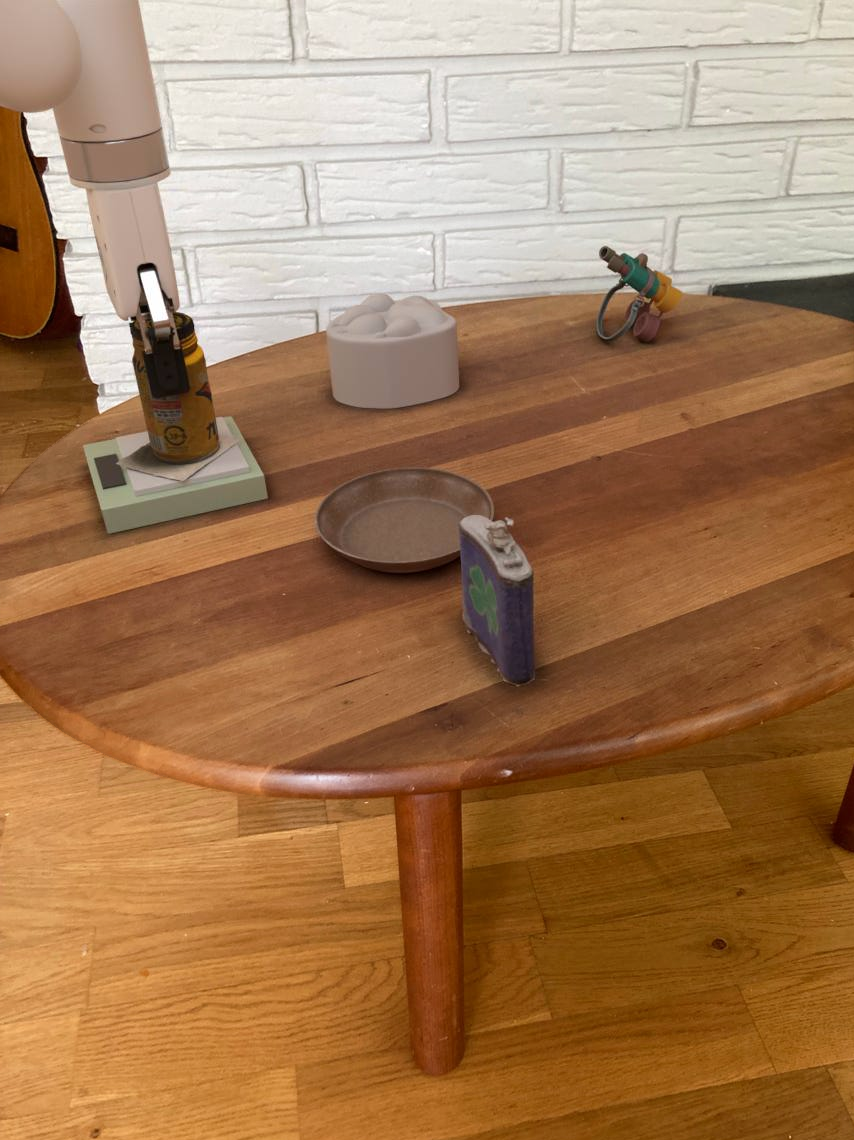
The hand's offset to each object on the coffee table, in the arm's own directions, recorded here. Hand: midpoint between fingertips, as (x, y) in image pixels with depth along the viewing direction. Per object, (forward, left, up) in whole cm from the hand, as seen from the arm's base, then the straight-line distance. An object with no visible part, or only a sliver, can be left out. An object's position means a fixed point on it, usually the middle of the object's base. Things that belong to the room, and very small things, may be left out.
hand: (163, 377), depth 93 cm
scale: (-1, 0, -10) cm, 10 cm away
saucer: (+15, -18, -10) cm, 26 cm away
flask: (+16, -35, -10) cm, 40 cm away
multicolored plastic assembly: (+54, +12, -10) cm, 56 cm away
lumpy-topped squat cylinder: (+24, +11, -10) cm, 28 cm away
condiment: (0, 0, -7) cm, 7 cm away
